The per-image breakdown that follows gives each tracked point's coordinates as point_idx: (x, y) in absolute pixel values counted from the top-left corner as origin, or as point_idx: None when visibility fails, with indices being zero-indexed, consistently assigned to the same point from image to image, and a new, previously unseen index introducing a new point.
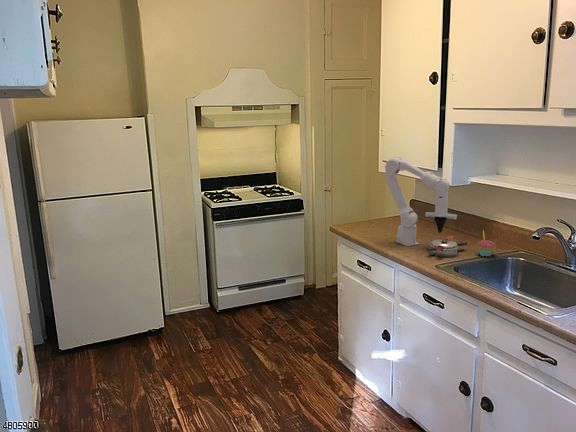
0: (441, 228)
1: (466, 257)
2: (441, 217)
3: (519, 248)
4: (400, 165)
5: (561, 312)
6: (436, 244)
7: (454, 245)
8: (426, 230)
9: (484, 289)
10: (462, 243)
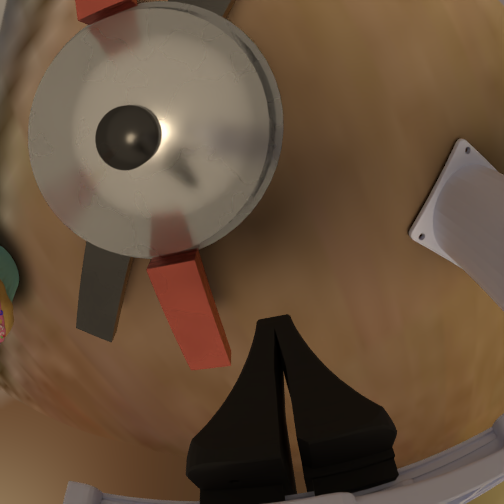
0: (251, 351)
1: (19, 158)
2: (280, 500)
3: (22, 401)
4: None
5: None
6: (171, 29)
7: (29, 132)
8: (407, 425)
9: None
10: (80, 293)
